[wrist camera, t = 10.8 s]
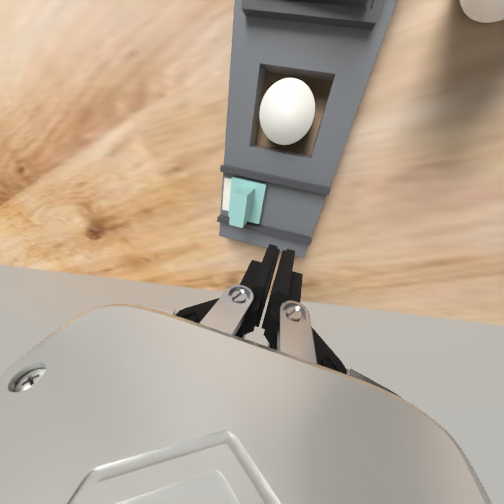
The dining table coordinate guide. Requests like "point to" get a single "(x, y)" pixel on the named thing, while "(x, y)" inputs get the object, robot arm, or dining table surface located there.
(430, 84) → the dining table surface
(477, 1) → the can
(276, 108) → the push button
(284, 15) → the control panel
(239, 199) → the teal slide switch
